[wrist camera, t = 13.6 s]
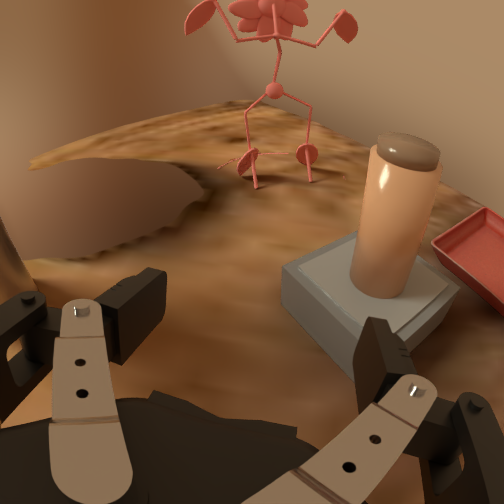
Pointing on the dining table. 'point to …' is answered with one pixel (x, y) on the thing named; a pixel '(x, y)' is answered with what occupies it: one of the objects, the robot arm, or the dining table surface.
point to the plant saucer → (476, 254)
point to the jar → (394, 213)
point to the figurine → (278, 27)
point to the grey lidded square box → (359, 301)
